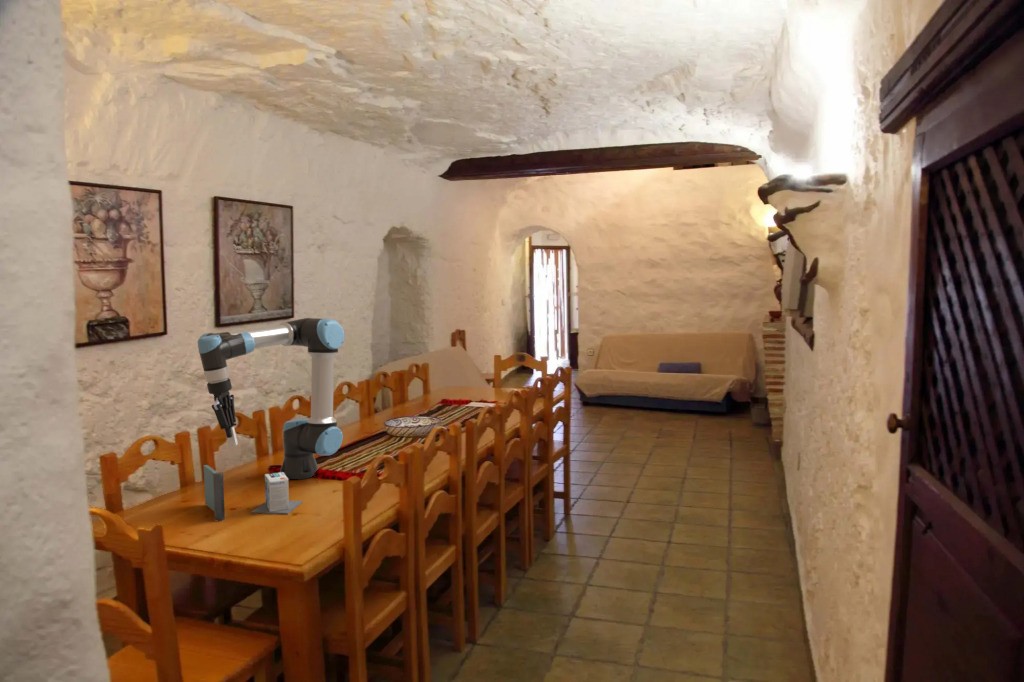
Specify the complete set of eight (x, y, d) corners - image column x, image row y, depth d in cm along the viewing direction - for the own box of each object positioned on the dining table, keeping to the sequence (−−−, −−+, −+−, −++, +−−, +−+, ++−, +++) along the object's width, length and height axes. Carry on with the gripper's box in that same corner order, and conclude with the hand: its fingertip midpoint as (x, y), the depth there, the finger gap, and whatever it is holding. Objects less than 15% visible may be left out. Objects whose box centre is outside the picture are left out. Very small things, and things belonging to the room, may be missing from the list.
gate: (205, 503, 255) (203, 465, 254) (208, 503, 256) (207, 464, 255) (220, 516, 242) (219, 476, 240) (224, 516, 242) (222, 475, 241)
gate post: (218, 518, 241) (216, 472, 240) (224, 518, 241) (222, 472, 240) (215, 520, 239) (213, 474, 238) (221, 520, 239) (219, 474, 238)
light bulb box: (265, 503, 255) (263, 473, 254) (284, 500, 258) (283, 471, 257) (269, 512, 246) (268, 481, 245) (290, 509, 249) (289, 478, 248)
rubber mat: (268, 501, 259) (268, 499, 259) (302, 502, 258) (302, 500, 258) (251, 513, 247) (251, 511, 247) (287, 514, 245) (287, 512, 245)
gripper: (215, 376, 251) (230, 440, 256) (199, 386, 238) (214, 453, 243) (236, 374, 251) (250, 437, 255) (220, 383, 238) (236, 450, 243)
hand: (233, 445), depth 249 cm, fingers closed
